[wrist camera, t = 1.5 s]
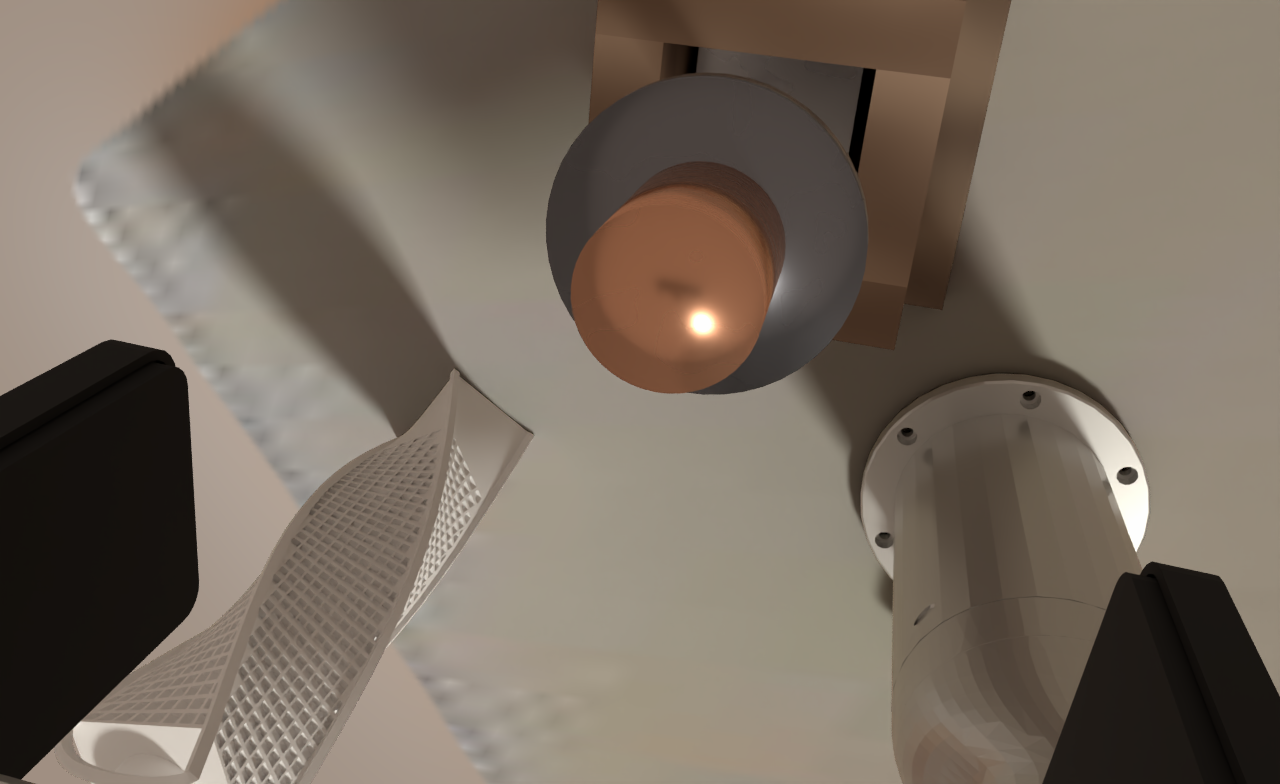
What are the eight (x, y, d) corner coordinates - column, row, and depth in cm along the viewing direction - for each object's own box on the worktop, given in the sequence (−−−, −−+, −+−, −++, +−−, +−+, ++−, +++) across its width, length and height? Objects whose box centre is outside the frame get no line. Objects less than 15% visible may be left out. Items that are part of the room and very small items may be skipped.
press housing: (941, 299, 48) (957, 453, 34) (609, 246, 50) (496, 370, 36) (1029, -101, 41) (1094, -115, 27) (642, -140, 43) (520, -170, 30)
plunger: (859, 250, 37) (825, 504, 21) (658, 219, 38) (477, 438, 22) (898, 36, 34) (895, 136, 18) (680, 9, 35) (490, 81, 19)
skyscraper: (451, 333, 54) (54, 694, 28) (569, 429, 54) (282, 865, 29) (371, 438, 57) (-47, 843, 32) (483, 527, 58) (159, 993, 33)
